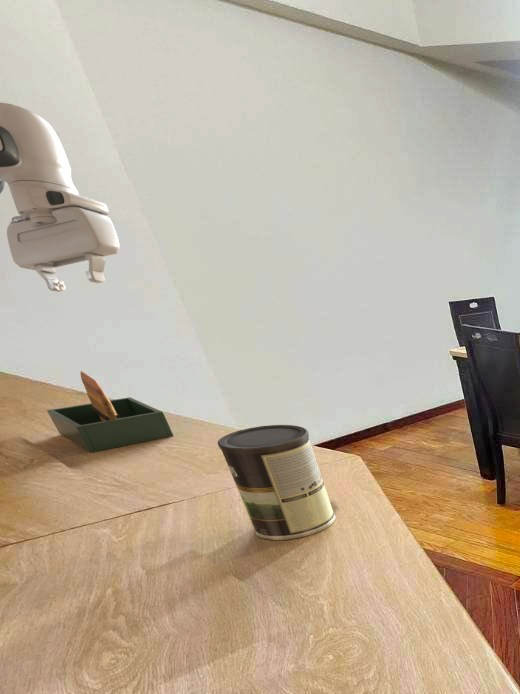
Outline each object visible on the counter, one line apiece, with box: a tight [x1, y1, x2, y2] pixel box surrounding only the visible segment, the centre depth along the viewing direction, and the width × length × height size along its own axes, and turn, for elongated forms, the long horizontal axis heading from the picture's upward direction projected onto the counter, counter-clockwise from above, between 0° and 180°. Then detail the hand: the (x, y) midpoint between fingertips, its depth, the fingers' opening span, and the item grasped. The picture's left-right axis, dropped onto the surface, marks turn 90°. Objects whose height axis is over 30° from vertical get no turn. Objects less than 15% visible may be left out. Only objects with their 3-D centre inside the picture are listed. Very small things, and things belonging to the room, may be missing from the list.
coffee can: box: [217, 424, 337, 541], centre depth 86 cm, size 10×10×14 cm
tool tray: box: [46, 396, 174, 453], centre depth 117 cm, size 13×17×5 cm
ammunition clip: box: [80, 370, 120, 422], centre depth 116 cm, size 11×2×12 cm, turn 54°
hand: (77, 286), depth 113 cm, fingers open, 8 cm apart
